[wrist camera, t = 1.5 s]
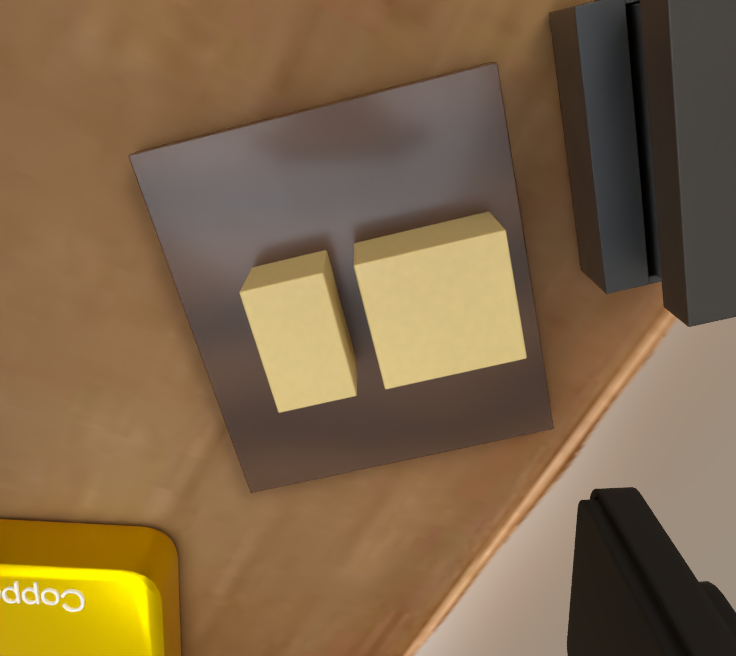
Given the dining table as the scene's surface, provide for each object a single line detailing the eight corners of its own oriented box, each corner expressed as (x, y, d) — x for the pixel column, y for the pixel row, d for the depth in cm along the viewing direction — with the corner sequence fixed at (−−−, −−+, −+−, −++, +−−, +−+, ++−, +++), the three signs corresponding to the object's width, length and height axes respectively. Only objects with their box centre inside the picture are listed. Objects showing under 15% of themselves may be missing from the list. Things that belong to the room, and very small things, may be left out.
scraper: (576, 12, 32) (666, -7, 23) (627, -1, 32) (739, -25, 22) (604, 259, 36) (688, 327, 27) (648, 249, 36) (749, 314, 27)
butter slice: (251, 267, 35) (238, 292, 31) (326, 249, 34) (323, 272, 31) (286, 378, 37) (278, 413, 33) (357, 362, 37) (357, 396, 33)
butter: (353, 243, 34) (352, 265, 30) (489, 210, 34) (506, 229, 30) (382, 356, 37) (385, 390, 33) (509, 328, 36) (527, 359, 32)
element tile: (178, 525, 42) (158, 579, 38) (184, 698, 48) (166, 764, 43) (-67, 512, 42) (-118, 566, 37) (-33, 689, 47) (-73, 755, 43)
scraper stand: (548, 12, 32) (574, 6, 28) (655, -15, 31) (695, -25, 28) (580, 270, 36) (606, 294, 33) (673, 249, 36) (709, 270, 32)
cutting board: (137, 151, 34) (127, 155, 32) (491, 61, 33) (497, 61, 31) (254, 478, 41) (250, 493, 40) (547, 416, 40) (554, 429, 38)
